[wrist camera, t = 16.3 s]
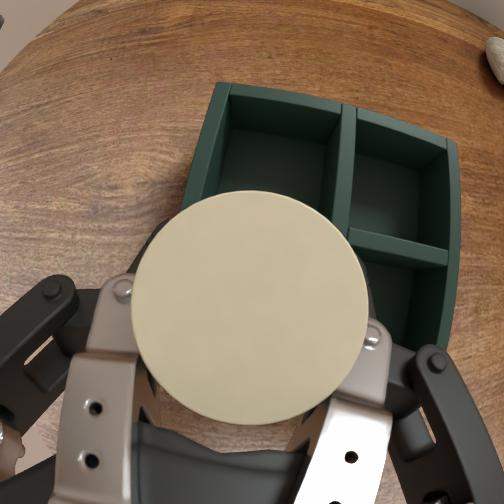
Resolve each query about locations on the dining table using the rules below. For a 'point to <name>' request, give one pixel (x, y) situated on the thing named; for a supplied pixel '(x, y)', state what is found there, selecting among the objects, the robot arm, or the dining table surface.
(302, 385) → the cylinder
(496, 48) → the fossil
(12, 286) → the dining table surface
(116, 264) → the dining table surface
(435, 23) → the dining table surface
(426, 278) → the grid
